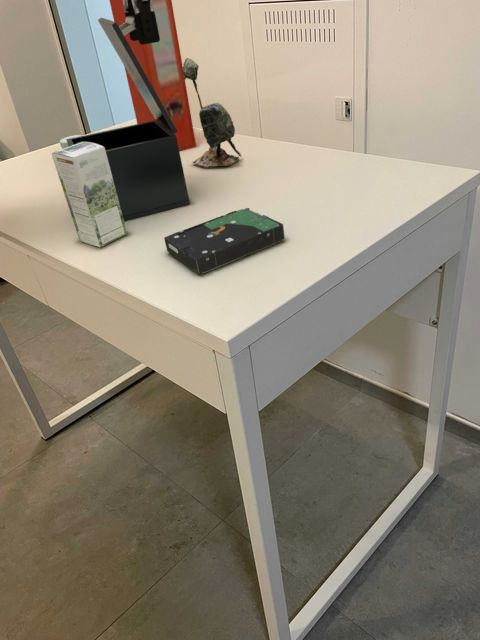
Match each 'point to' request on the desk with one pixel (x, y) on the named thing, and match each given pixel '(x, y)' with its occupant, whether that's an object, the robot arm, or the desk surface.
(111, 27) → the bin lid
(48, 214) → the desk surface
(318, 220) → the desk surface
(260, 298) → the desk surface
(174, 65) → the file binder
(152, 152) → the bin
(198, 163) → the plant with pod
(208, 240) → the disk drive
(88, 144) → the syrup box
